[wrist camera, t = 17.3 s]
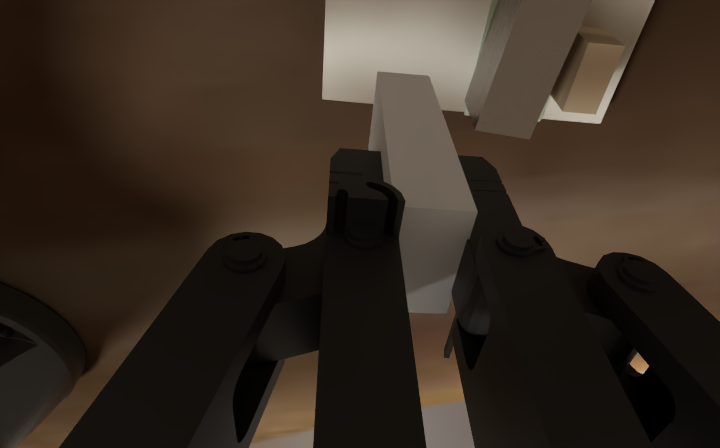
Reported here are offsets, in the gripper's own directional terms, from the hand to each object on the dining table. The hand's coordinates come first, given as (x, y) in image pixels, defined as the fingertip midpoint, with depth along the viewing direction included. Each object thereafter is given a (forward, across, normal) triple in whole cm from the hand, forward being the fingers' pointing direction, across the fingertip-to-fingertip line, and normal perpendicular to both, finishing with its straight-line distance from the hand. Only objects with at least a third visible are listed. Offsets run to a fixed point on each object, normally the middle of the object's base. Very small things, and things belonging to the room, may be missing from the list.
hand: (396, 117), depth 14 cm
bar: (+8, +6, +1) cm, 10 cm away
